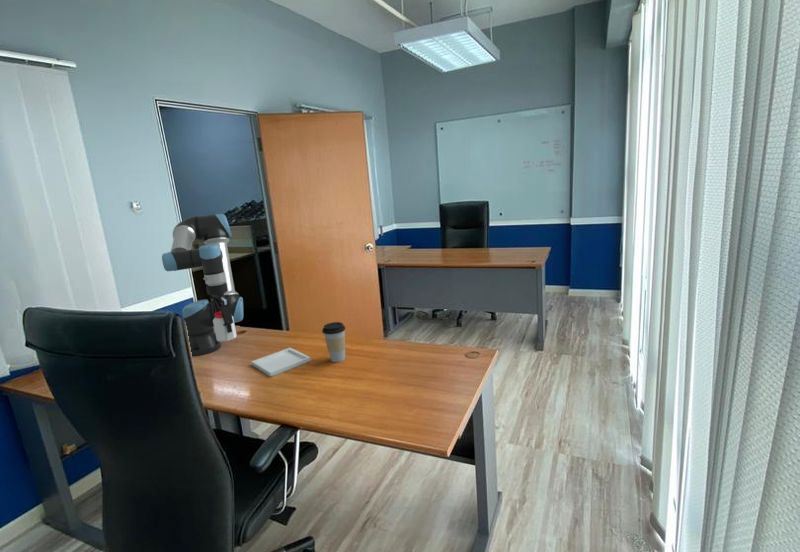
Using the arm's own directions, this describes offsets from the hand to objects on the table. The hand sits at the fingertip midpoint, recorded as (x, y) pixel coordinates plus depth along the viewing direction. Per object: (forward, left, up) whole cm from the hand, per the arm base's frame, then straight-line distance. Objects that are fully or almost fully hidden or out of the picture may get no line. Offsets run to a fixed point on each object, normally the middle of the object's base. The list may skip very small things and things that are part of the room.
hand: (226, 337), depth 174 cm
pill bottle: (0, 0, 0) cm, 0 cm away
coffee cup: (+29, +33, -14) cm, 46 cm away
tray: (+12, +16, -14) cm, 25 cm away
